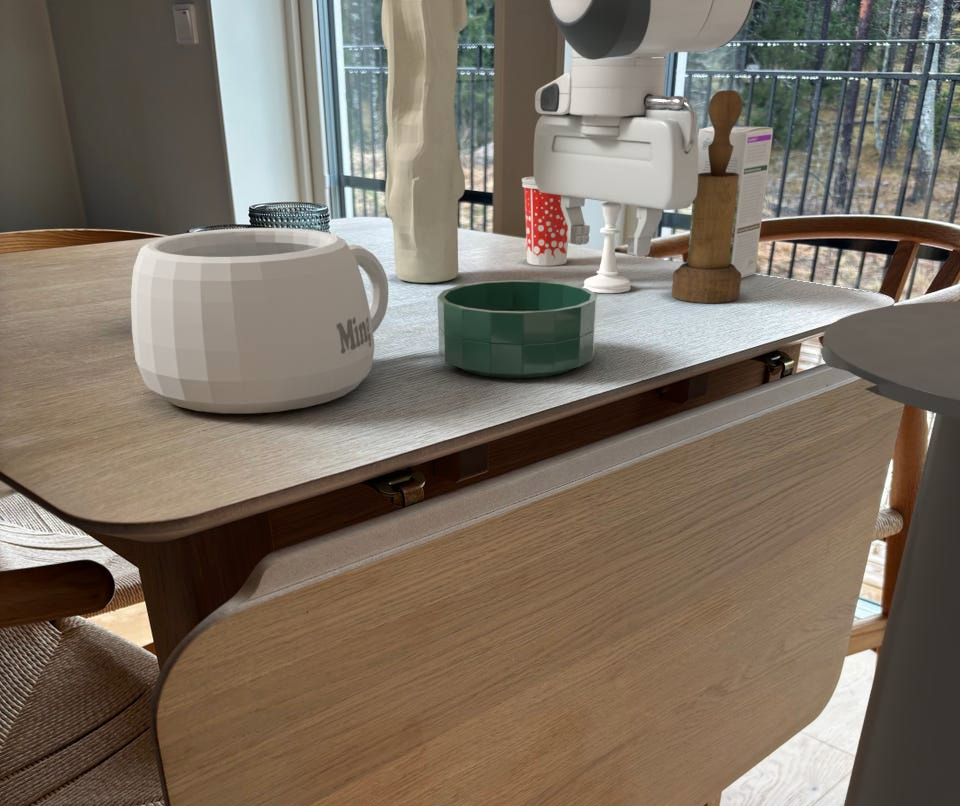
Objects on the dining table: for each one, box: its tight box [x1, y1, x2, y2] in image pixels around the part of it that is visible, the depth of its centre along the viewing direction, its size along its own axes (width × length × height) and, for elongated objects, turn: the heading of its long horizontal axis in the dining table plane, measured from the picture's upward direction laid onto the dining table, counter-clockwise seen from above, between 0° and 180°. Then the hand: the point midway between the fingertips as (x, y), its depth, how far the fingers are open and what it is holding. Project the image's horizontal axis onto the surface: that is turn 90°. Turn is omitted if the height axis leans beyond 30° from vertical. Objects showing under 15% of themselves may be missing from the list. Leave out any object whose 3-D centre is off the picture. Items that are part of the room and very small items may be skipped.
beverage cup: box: [521, 176, 569, 267], centre depth 112 cm, size 6×6×14 cm
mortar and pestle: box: [670, 89, 743, 304], centre depth 93 cm, size 7×6×18 cm
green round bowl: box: [437, 279, 598, 379], centre depth 76 cm, size 12×12×5 cm
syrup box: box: [686, 125, 774, 279], centre depth 104 cm, size 6×6×14 cm
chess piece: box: [582, 202, 632, 294], centre depth 99 cm, size 5×5×10 cm
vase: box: [381, 0, 469, 284], centre depth 99 cm, size 9×8×30 cm
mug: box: [130, 227, 389, 415], centre depth 70 cm, size 21×17×10 cm
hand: (607, 249), depth 99 cm, fingers open, 8 cm apart
